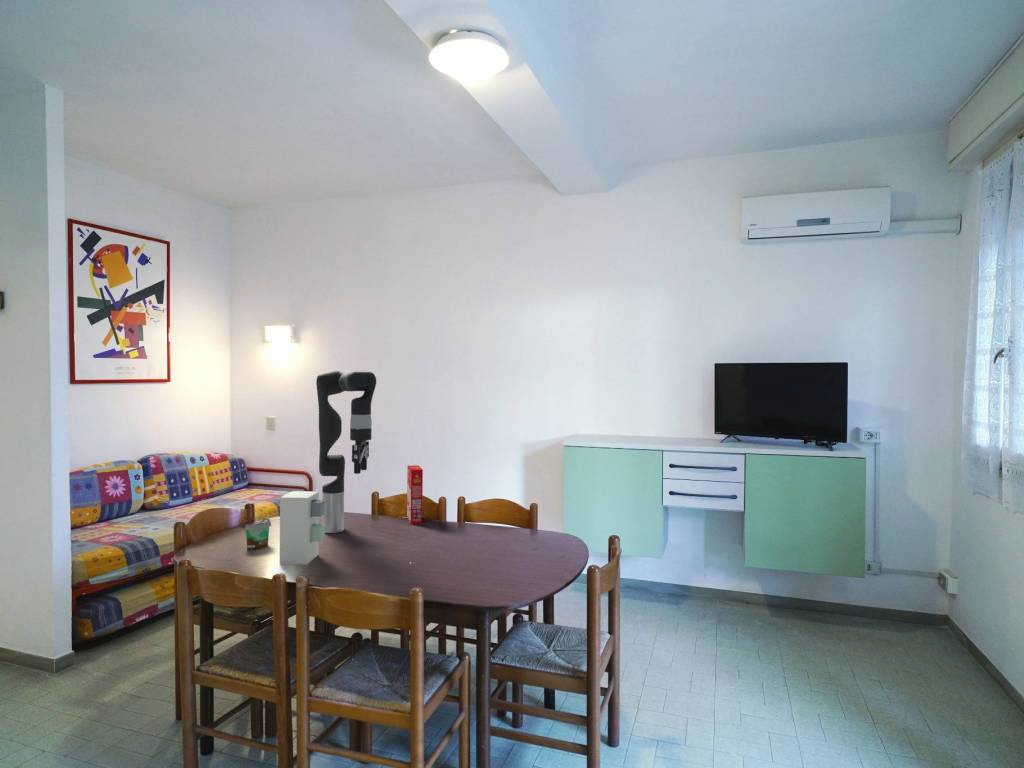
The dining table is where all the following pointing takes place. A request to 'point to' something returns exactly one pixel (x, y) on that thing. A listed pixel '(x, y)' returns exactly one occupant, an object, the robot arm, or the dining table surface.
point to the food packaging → (414, 494)
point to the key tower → (297, 528)
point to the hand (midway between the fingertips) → (360, 471)
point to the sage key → (317, 532)
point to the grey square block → (317, 508)
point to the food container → (257, 534)
